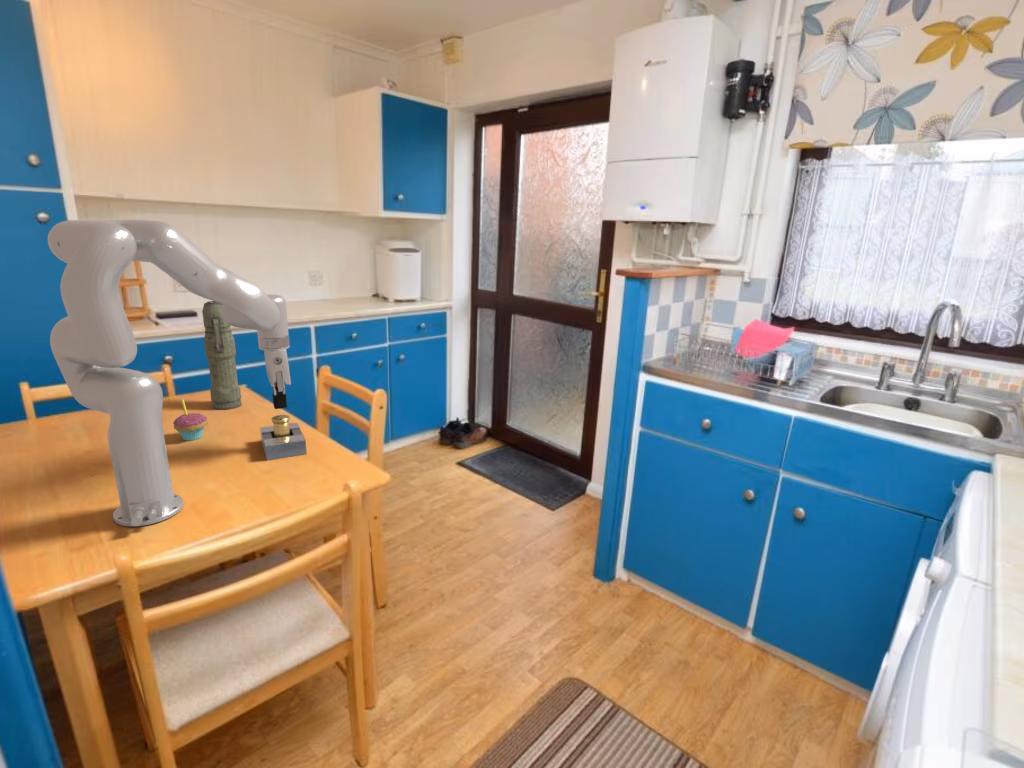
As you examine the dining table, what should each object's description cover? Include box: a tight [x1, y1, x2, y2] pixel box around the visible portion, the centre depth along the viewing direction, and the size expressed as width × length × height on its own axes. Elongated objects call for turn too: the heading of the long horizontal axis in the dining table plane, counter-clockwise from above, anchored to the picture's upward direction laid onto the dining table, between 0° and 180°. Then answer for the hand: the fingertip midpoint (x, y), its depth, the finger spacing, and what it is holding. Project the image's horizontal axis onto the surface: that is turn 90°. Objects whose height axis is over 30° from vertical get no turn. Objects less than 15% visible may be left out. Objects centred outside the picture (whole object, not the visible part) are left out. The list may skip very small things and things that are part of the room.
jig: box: [259, 422, 308, 461], centre depth 149 cm, size 14×10×4 cm
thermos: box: [201, 300, 243, 411], centre depth 175 cm, size 9×12×35 cm
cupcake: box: [172, 396, 209, 442], centre depth 152 cm, size 9×8×12 cm
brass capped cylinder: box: [270, 414, 291, 438], centre depth 148 cm, size 5×5×9 cm
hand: (280, 407), depth 147 cm, fingers closed
